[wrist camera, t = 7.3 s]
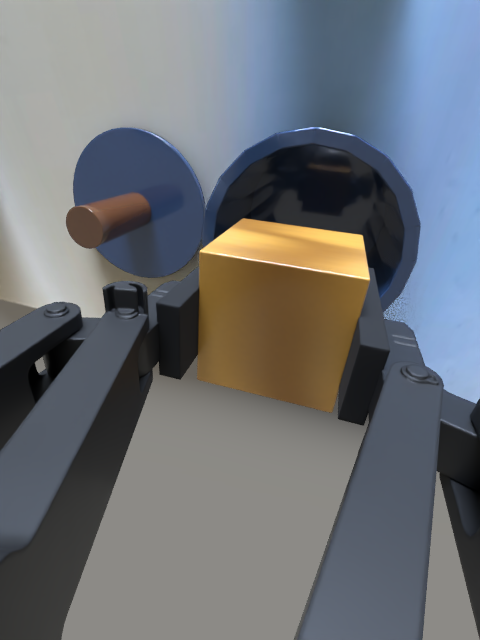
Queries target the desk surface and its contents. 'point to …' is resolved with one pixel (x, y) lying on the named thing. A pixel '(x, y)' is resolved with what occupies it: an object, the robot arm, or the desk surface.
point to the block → (280, 310)
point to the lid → (137, 203)
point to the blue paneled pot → (324, 197)
